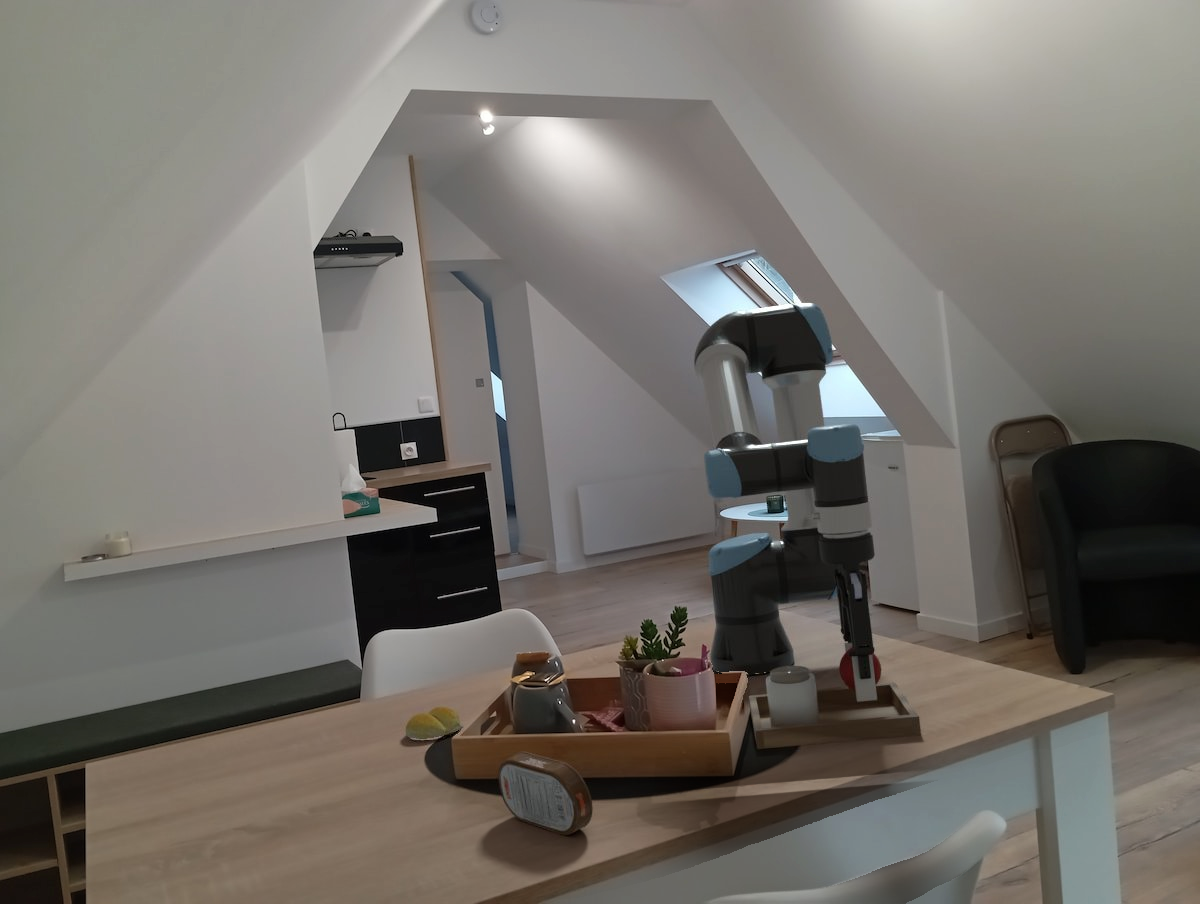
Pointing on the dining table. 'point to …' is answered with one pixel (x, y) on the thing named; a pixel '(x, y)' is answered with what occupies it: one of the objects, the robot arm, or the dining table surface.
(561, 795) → the tin
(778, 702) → the jar
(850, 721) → the wooden tray
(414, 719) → the yellow rounded lump
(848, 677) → the onion
